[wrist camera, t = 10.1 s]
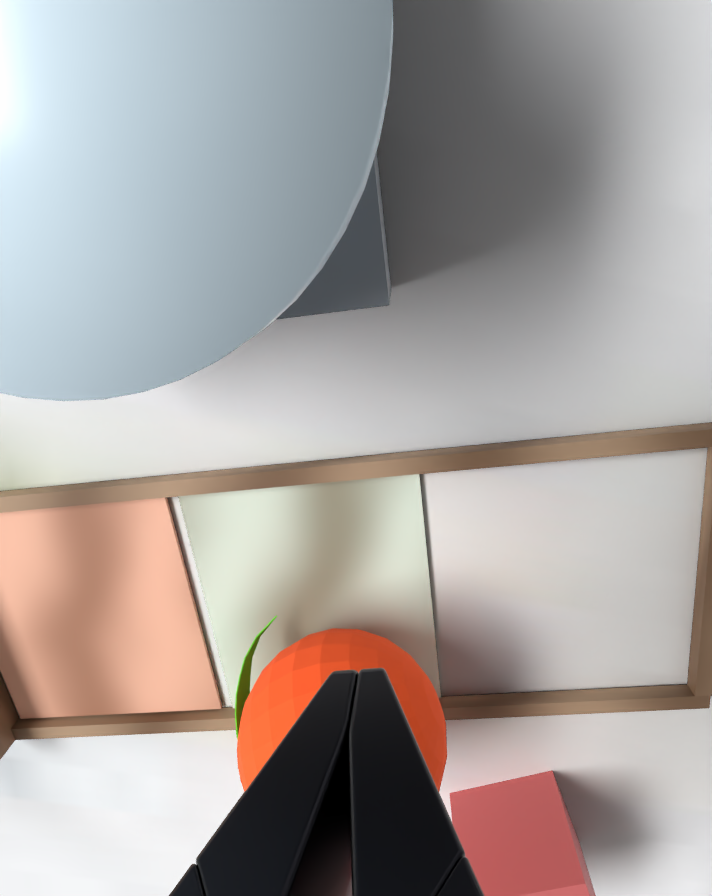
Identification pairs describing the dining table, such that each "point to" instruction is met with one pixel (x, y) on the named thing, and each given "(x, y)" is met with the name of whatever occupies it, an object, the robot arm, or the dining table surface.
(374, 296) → the gray square block
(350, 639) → the clementine
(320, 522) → the wooden tray
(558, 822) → the die
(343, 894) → the robot arm
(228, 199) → the pop dome
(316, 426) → the dining table surface
